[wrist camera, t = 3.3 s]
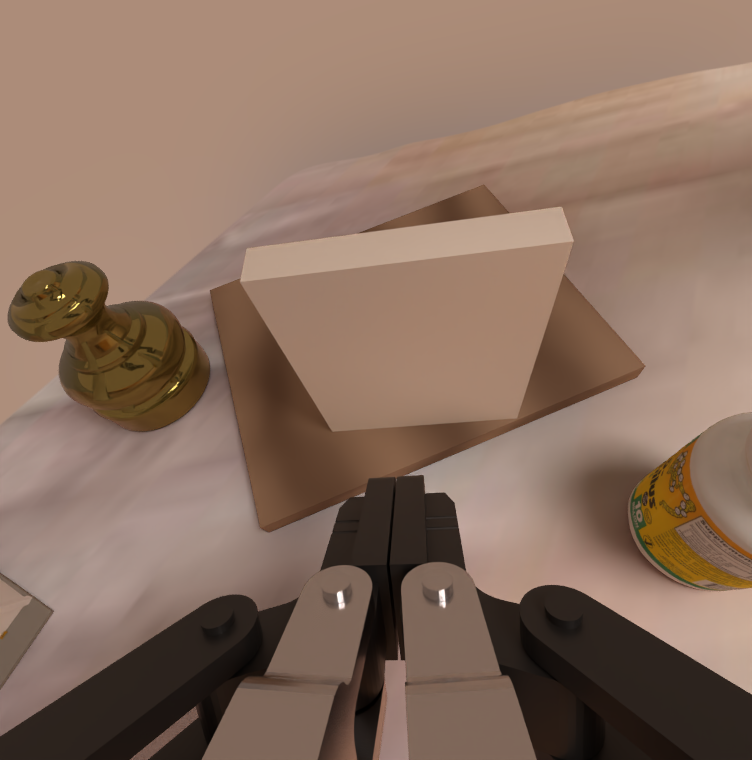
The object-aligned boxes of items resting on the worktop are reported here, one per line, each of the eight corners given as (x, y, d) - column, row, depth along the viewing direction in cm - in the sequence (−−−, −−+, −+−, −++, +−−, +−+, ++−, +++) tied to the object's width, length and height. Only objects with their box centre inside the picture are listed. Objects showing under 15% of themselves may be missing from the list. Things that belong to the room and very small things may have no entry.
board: (483, 198, 33) (484, 184, 32) (636, 377, 24) (645, 365, 22) (217, 301, 32) (209, 290, 31) (269, 532, 22) (260, 528, 21)
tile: (511, 392, 23) (561, 205, 13) (517, 418, 22) (574, 240, 12) (333, 406, 24) (246, 247, 14) (332, 431, 23) (239, 282, 13)
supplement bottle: (714, 621, 18) (943, 618, 9) (599, 524, 20) (701, 457, 12) (779, 529, 19) (1032, 457, 11) (664, 449, 21) (796, 341, 13)
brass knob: (154, 329, 31) (42, 218, 23) (233, 354, 29) (141, 242, 20) (87, 413, 28) (-71, 322, 20) (169, 450, 26) (30, 364, 17)
